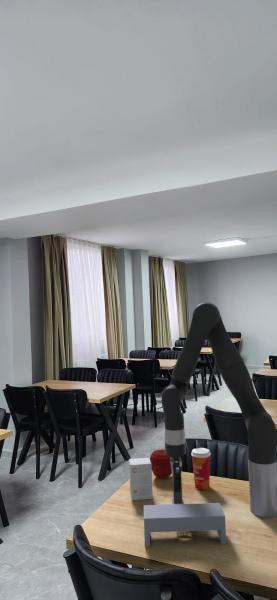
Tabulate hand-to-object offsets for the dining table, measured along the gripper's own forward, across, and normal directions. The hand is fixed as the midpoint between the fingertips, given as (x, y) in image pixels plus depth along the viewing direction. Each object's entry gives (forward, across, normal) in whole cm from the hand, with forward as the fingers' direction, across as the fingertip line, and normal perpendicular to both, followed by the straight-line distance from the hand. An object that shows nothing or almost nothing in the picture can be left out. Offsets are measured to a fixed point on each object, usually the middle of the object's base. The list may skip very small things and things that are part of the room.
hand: (176, 488), depth 139 cm
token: (+6, -21, 0) cm, 22 cm away
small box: (+6, +7, +13) cm, 16 cm away
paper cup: (+5, +13, -11) cm, 18 cm away
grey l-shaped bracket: (+5, -8, 0) cm, 9 cm away
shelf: (+5, -21, 0) cm, 22 cm away
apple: (+5, +23, +4) cm, 24 cm away
